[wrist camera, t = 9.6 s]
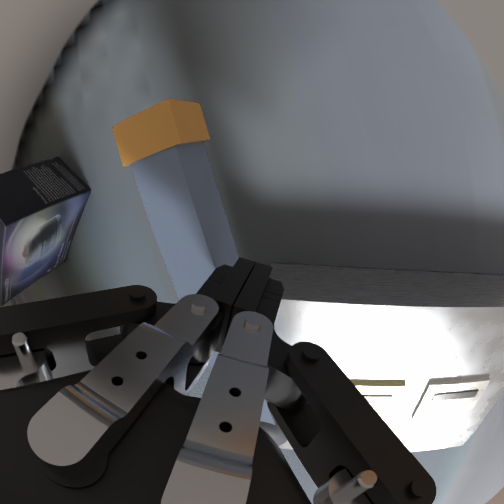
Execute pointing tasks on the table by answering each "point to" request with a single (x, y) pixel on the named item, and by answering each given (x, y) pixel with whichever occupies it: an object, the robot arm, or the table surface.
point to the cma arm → (182, 200)
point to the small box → (37, 222)
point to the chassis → (404, 342)
